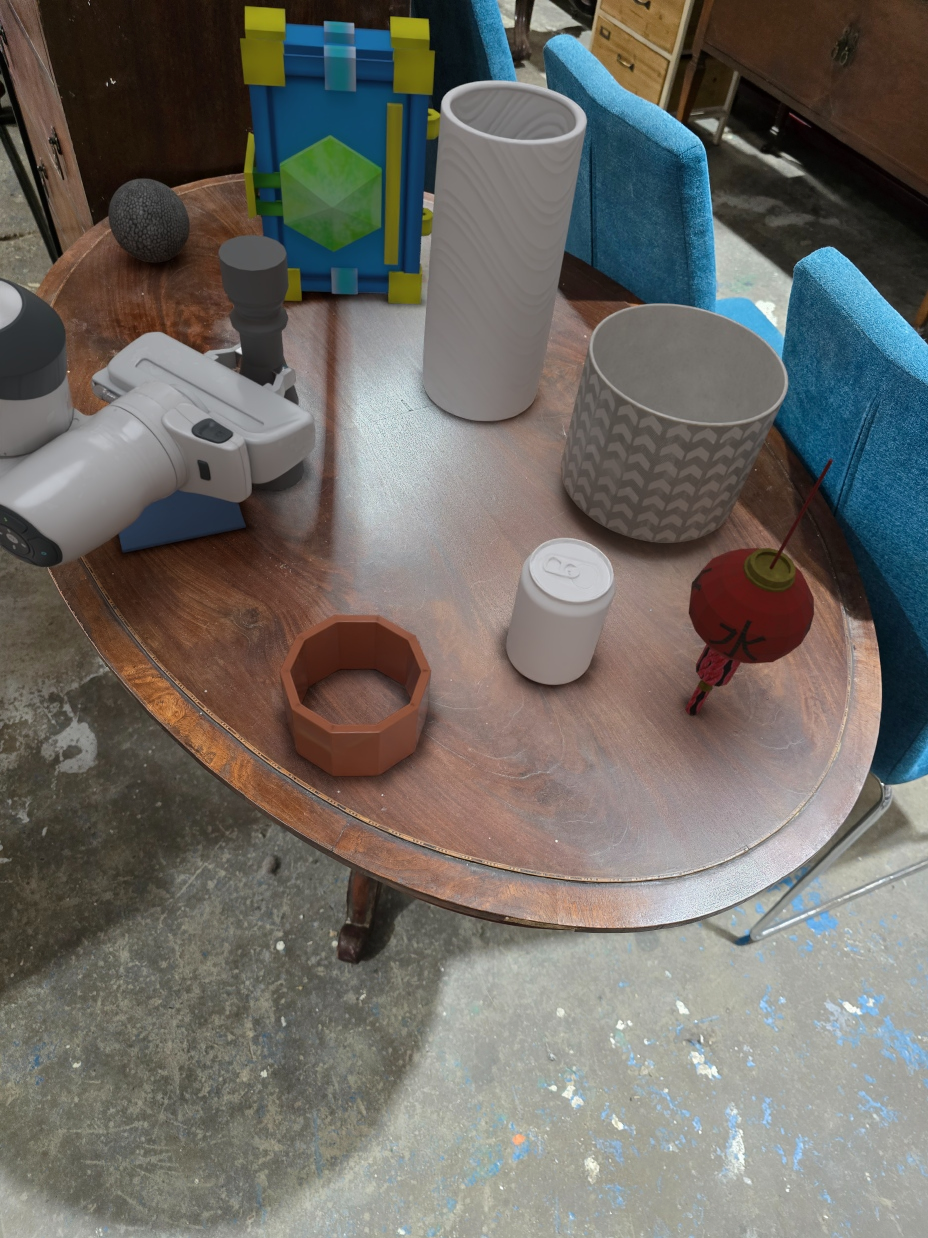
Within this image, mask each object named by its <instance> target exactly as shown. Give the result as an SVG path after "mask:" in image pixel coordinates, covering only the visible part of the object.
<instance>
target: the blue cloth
mask: <svg viewBox="0 0 928 1238" xmlns="http://www.w3.org/2000/svg"><path fill="white" fill-rule="evenodd" d="M244 528H246V523H245V520H244V517H243V513H242V511H241V507H240V504H239V502H230V501H226V500H223V499H219V498H215V497H211V496H207V495H202V494H197V493H189V492H183V491H179V490H177V491H175V492H174V493H173V494H171V495H170V496H168V497H166V498H164V499H161V500H158V501H155V502H153V503H151V504H150V505H149V506H147V507H146V508H145V509H144V510H143V512H142V513H141V515H140V516H139V517H138V518H137V520H136V521H135V522H134V523H132V524H131V525H130V526H128V527H127V528H125V529H124V530H123V531H121V532H120V533H119V534H118V538H119V542H120V546H121V547H120V548H121V551H122V553H123V554H125V553H129V552H134V551H139V550H144V549H149V548H154V547H157V546H164V545H168V544H172V543H173V544H174V543H177V542H178V543H179V542H182V541H187V540H192V539H197V538H201V537H207V536H210V535H216V534H221V533H226V532H231V531H235V530H240V529H244Z"/></svg>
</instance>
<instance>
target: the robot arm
mask: <svg viewBox="0 0 928 1238" xmlns="http://www.w3.org/2000/svg"><path fill="white" fill-rule="evenodd" d="M67 350H68V349H67V333H66V328H65V325H64V322H63V320H62V318H61V316H60V315H59V314H58V312H57V311H56V310H55V309H54V308H53V306H51V305H50V304H49V303H48V302H46V301H45V300H44V299H42V297H40V296H38V295H37V294H36V293H34V292H32V291H31V290H29V289H27V288H26V287H24V286H23V285H21V284H18V283H16V282H14V281H11V280H10V279H6V278H3V277H0V548H2V550H4V551H5V552H6V553H8V554H9V555H11V556H12V557H14V558H16V559H18V560H19V561H21V562H23V563H25V564H28V565H31V566H32V565H33V566H36V567H39V568H46V569H47V568H55V567H59V566H63V565H66V564H69V563H71V562H73V561H76V560H78V559H80V558H82V557H84V556H86V555H87V554H89V553H91V552H93V551H94V550H96V549H98V548H100V547H102V545H105V544H106V543H107V542H109V541H110V540H112V539H113V538H114V537H116V536H117V535H119V533H120V532H121V531H123V530H124V529H125V528H127V527H128V526H130V525H131V524H132V523H134V522H135V521H136V520H137V518H138V517H139V516H140V515H141V513H142V512H143V510H144V509H145V508H146V507H147V506H149V505H150V504H151V503H153V502H155V501H158V500H161V499H164V498H166V497H168V496H170V495H171V494H173V493H174V492H175V491H177V490H179V491H183V492H189V493H197V494H202V495H207V496H211V497H215V498H219V499H223V500H226V501H230V502H238V503H241V502H243V501H245V500H247V499H248V498H249V497H250V496H251V494H252V492H253V491H252V486H253V484H252V483H255V484H261V483H266V482H269V481H272V480H274V479H276V478H277V477H279V476H281V475H282V474H284V473H285V472H287V471H288V470H290V469H291V468H292V467H294V466H295V465H296V464H298V463H299V462H300V461H302V460H303V461H304V460H305V459H306V458H307V456H309V455H310V454H311V453H312V452H313V451H314V449H315V446H316V439H317V431H316V421H315V416H314V414H313V413H312V412H311V411H310V410H308V409H306V408H304V407H302V406H300V405H296V404H295V403H293V402H291V401H289V400H287V399H285V398H284V394H285V391H286V390H287V389H289V388H290V387H291V386H293V385H294V386H295V384H296V382H297V374H296V373H297V371H296V369H294V368H292V367H290V366H289V365H288V364H287V365H285V364H282V365H281V366H279V367H278V368H276V369H273V370H271V371H272V375H273V379H274V384H273V386H272V385H271V384H269V383H267V384H265V385H264V386H261V385H259V384H257V383H255V382H254V381H252V380H250V379H248V378H246V377H244V376H242V375H241V374H239V373H240V372H236V370H233V369H236V368H239V369H240V366H241V359H242V351H241V343H240V342H238V343H237V344H235V345H234V346H232V347H230V348H229V347H228V348H220V349H211V350H208V351H206V352H205V353H202V352H199V351H198V350H196V349H194V348H192V347H190V346H188V345H186V344H184V343H183V342H181V341H179V340H177V339H176V338H173V337H171V336H170V335H168V334H166V333H164V332H162V331H152V332H151V331H150V332H146V333H143V334H142V335H140V336H139V337H138V338H136V339H134V340H133V341H132V342H131V343H129V344H128V345H126V346H125V347H124V348H122V350H119V352H118V353H116V355H114V357H112V358H111V359H110V360H109V362H108V364H107V366H105V367H104V368H102V369H100V370H99V371H97V372H95V373H94V374H93V375H92V376H91V380H90V387H91V389H92V390H91V391H92V394H93V395H94V396H95V397H96V398H97V399H99V400H101V401H103V402H106V403H108V404H107V405H105V406H104V407H101V408H100V409H99V410H98V411H97V412H96V413H94V414H91V415H87V414H84V413H82V412H80V411H79V410H78V409H77V408H76V407H74V406H73V400H72V394H71V389H70V384H69V379H68V354H67V353H68V351H67Z"/></svg>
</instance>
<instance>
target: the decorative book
mask: <svg viewBox="0 0 928 1238" xmlns="http://www.w3.org/2000/svg"><path fill="white" fill-rule="evenodd" d="M389 20H390V21H389V30H387V29H386V30H385V29H371V28H357V27H356V28H355V23H354V22H345V21H344V22H342V21H328V20H324V21H323V25H314V24H313V25H311V24H299V23H298V24H295V23H287V22H286V9H285V8H277V7H276V8H275V7H261V6H260V7H259V6H247V5H244V32H245V38H243V37H240V38H239V42H240V43H239V44H240V45H239V46H240V55H241V64H242V73H243V84H244V85H248V88H249V89H248V91H249V101H250V111H251V122H252V123H251V124H252V132H253V133H251V131H250V132H249V131H248V135H247V143H246V151H245V159H244V169H243V176H244V184H245V185H244V186H245V194H246V195H245V196H246V204H247V213H248V220H251V219H253V218H255V217H257V216H260V217H261V227H262V236H265V237H268V238H271V239H274V240H276V241H278V242H279V243H280V244H282V245H283V246H284V248H285V251H286V253H287V268H288V283H289V287H288V290H287V293H286V296H285V299H284V302H302V301H303V299H302V298H303V297H302V295H303V294H302V292H320V293H324V292H325V293H331V294H332V295H333V294H334V295H358V293H359V294H364V293H365V294H387V299H388V300H387V301H388V302H387V303H388V304H393V305H395V304H396V305H406V304H407V305H421V304H422V291H423V290H422V286H423V268H422V263H421V255H422V254H421V253H422V237H428V236H431V233H432V219H433V210H430V208H427V207H424V199H425V198H424V197H425V177H426V160H427V159H426V158H427V142H428V141H429V140H435V139H437V138H439V127H440V114H441V113H440V112H438V111H436V110H435V109H434V108H429V102H430V96H433V92H434V75H435V74H434V72H435V54H436V51H435V50H430V41H431V40H430V24H429V23H430V21H429V18H418V17H417V18H416V17H405V16H404V17H403V16H390V17H389Z"/></svg>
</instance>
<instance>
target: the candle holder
mask: <svg viewBox="0 0 928 1238" xmlns="http://www.w3.org/2000/svg"><path fill="white" fill-rule="evenodd" d="M217 252H218V254H217V255H218V259H219V260H218V261H219V269H220V276H221V283H222V288H223V292H224V294H226V295H227V298H228V301H229V302H230V303H231V304H232V305H233V308H232V309H231V310H230V313H229V320H230V323H231V327H232V328H233V329H234V330H235V331H236V332H237V333H238V334H239V341H240V342H239V343H241V351H242V359H241V366H240V368H239V372H238V373H239V374H241V375H242V376H244V377H246V378H248V379H250V380H252V381H254V382H255V383H257V384H259V385H261V386H264V385H265V384H267V383H269V384H271V385H272V386H273V384H274V379H273V375H272V371H271V370H273V369H276V368H278V367H279V366H281V365H282V364H285V365H287V366H288V364H287V361H286V358H285V355H284V353H285V352H284V343H283V331H284V330H285V329H286V328H287V325H288V322H289V315H288V312H287V309H286V308H285V307H283V304H284V302H285V301H284V299H285V296H286V293H287V290H288V287H289V283H288V268H287V253H286V251H285V248H284V246H283V245H282V244H280V243H279V242H278V241H276V240H274V239H271V238H268V237H265V236H263V235H256V234H247V235H239V236H236V237H233V238H232V237H231V238H229V239H227V240H226V241H225V242H223V243H221V245H220V247H219V249H218V251H217ZM296 389H297V388H296V386H295V384H294V385H293V386H291V387H290V388H289V389H287V390H286V391H285V394H284V398H285V399H287V400H289V401H291V402H293V403H295V404H296V405H298V406H300V405H299V404H300V399H299V395H298V392H297V390H296ZM304 468H305V467H304V459H303V460H302V461H300V462H299V463H298V464H296V465H295V466H294V467H292V468H291V469H290V470H288V471H287V472H285V473H284V474H282V475H281V476H279V477H277V478H276V479H274V480H272V481H269V482H266V483H261V484H255V483H252V486H254V487H256V488H259V489H260V490H263V491H271V492H277V491H283V490H287V489H289V488H291V487H294V486H295V485H297V484H298V482H300V481H301V479H302V478H303V475H304V471H305V470H304Z"/></svg>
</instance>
